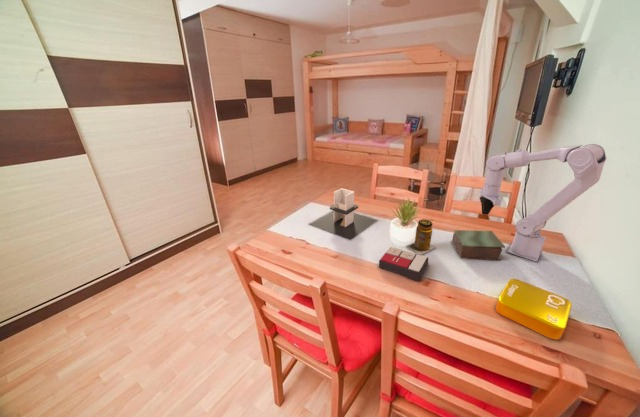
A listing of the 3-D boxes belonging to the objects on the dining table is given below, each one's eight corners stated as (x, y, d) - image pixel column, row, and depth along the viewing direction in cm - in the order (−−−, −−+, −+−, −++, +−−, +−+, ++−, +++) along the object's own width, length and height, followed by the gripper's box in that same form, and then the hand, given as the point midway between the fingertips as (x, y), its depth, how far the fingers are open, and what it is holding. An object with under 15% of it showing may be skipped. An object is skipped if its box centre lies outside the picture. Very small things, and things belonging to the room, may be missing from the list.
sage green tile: (491, 232, 107) (491, 230, 107) (504, 247, 97) (505, 246, 97) (453, 231, 110) (454, 230, 110) (462, 246, 100) (463, 245, 99)
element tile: (507, 286, 87) (511, 275, 85) (567, 311, 76) (573, 298, 74) (493, 311, 77) (497, 299, 75) (559, 343, 67) (565, 330, 65)
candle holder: (309, 224, 132) (307, 194, 125) (338, 208, 148) (337, 180, 142) (350, 240, 117) (350, 206, 110) (377, 220, 133) (379, 190, 127)
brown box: (486, 244, 110) (489, 233, 108) (498, 260, 100) (502, 248, 97) (451, 242, 112) (453, 231, 110) (460, 258, 102) (462, 246, 100)
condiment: (433, 248, 108) (438, 222, 104) (420, 255, 104) (424, 229, 99) (419, 240, 114) (422, 216, 109) (406, 247, 110) (409, 221, 105)
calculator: (390, 245, 105) (429, 255, 96) (389, 254, 107) (428, 265, 98) (378, 259, 97) (420, 271, 88) (378, 268, 99) (419, 281, 90)
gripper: (475, 178, 114) (469, 206, 120) (489, 190, 101) (481, 221, 107) (493, 178, 113) (485, 207, 118) (509, 190, 100) (500, 222, 105)
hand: (485, 214), depth 112 cm, fingers closed
